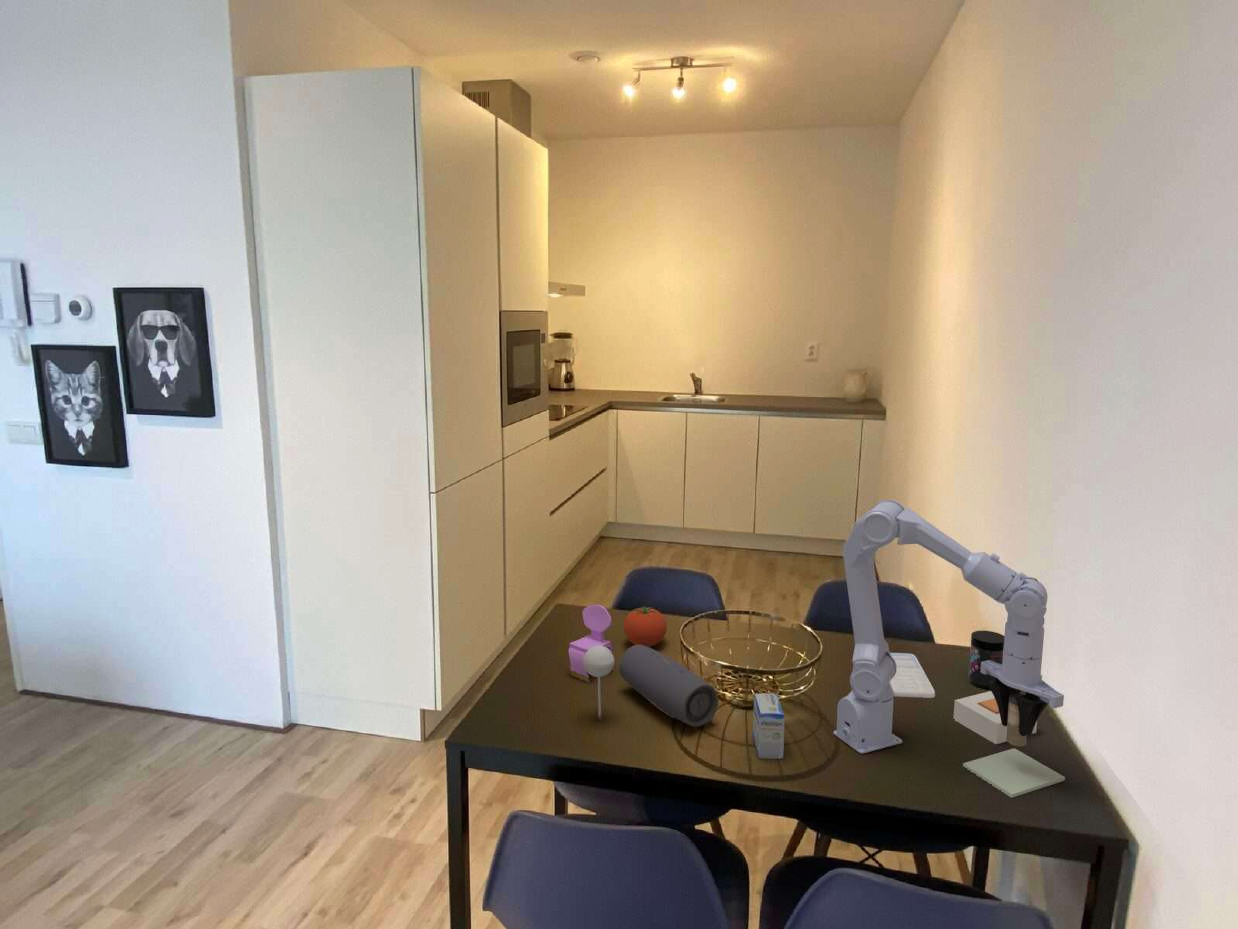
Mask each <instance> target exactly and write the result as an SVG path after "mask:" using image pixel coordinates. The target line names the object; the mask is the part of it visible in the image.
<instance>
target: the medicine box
mask: <svg viewBox="0 0 1238 929" xmlns="http://www.w3.org/2000/svg"><path fill="white" fill-rule="evenodd" d="M752 737H753V741H754V745H755V749H756V752H757V757H758V758H759V759H768V760H769V759H770V760H772V759H775V760H779V759H780V760H781V759H784V749H785V745H784V744H785V742H784V740H785V713H784V711H783V708H782V705H781V703H780V699H779V696H778V693H754V695H753V715H752Z"/></svg>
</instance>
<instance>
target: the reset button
mask: <svg viewBox="0 0 1238 929" xmlns="http://www.w3.org/2000/svg"><path fill="white" fill-rule="evenodd" d="M979 705H980V706H982V707H984V708H986V709H988V710H989V711H991V712H993V713H995V714H999V709H998V705H997V702H996V700H995V698H993V699H990V700H986V701H982V702H979Z"/></svg>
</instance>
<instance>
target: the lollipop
mask: <svg viewBox="0 0 1238 929" xmlns="http://www.w3.org/2000/svg"><path fill="white" fill-rule="evenodd" d="M583 663H584V667H585V669H586V671H587V673H588V675H590V676H592V677H595V678H597V688H598V689H597V692H598V693H597V696H598V699H597V700H598V701H597V702H598V703H597V704H598V706H597V707H598V716H599V715H601V716H602V708H601V707H602V699H601V697H602V696H601V678H602V677H605V676H608V675H609V674H610V673H611V672H612V671H613V670H612V668H613V665H614V666H615V657H614V654H613V653H612V650H611V651H610V650H609V649H608V648H606V647H604V646H594V647H592V648H590V649H589V650H588V651H587V652H586V654H585V656H584V658H583Z"/></svg>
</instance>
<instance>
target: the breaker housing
mask: <svg viewBox="0 0 1238 929" xmlns="http://www.w3.org/2000/svg"><path fill="white" fill-rule="evenodd" d="M993 698H995V697H994V695H993V693H992V692H991V690H989V691H985V692H981V693H977V694H975V695H974V694H973V695H969V696H966V697H962V698H958V699H955V700H954V707H953V708H954V709H953V719H955V720H954V721H955V722H957V723H958V722H959V724H960V725H962V726H964V727H965V728H967V729H969V730H970V731H972V732H974V733H976V734H978V735H979V736H981V737H982V738H985V739H986V740H988V741H989V742H991V743H993V744H995V745H999V744H1003V743H1006V742H1007V741H1006V735H1007V726H1003V725H1002V723H1001V718H1000V713H999V714H995V713H993V712H991V711H989V710H988V709H986V708H984V707H982V706H980V705H979V702H982V701H986V700H990V699H993ZM1037 726H1038V720H1037V721H1036V724H1035V726H1034V729H1033V731H1032V734H1031V735H1033V734H1037Z"/></svg>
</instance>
